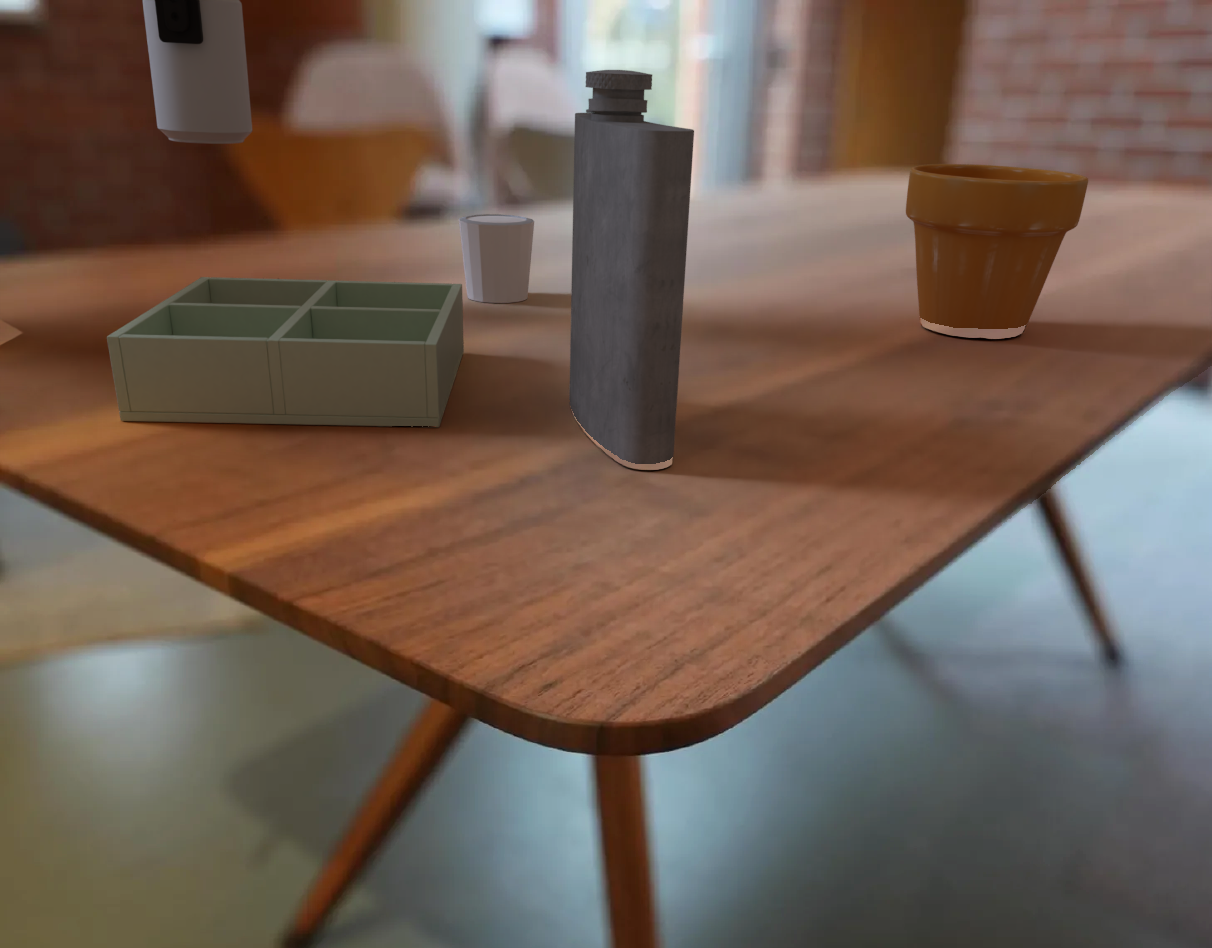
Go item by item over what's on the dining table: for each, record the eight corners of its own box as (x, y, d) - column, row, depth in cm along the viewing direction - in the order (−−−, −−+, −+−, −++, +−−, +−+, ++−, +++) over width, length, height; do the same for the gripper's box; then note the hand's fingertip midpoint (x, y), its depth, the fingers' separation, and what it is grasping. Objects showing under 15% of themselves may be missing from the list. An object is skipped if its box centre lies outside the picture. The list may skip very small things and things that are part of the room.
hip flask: (680, 469, 62) (706, 75, 54) (609, 473, 62) (625, 72, 53) (610, 392, 76) (622, 68, 67) (552, 394, 75) (556, 65, 66)
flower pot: (955, 353, 90) (985, 181, 84) (856, 316, 101) (877, 163, 96) (1091, 343, 95) (1128, 180, 89) (982, 309, 106) (1008, 163, 101)
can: (183, 144, 88) (164, -30, 83) (143, 137, 93) (123, -28, 88) (270, 144, 93) (257, -21, 87) (228, 137, 98) (213, -20, 92)
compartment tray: (120, 421, 67) (106, 336, 65) (209, 346, 84) (201, 276, 82) (439, 427, 68) (436, 344, 66) (463, 352, 85) (462, 283, 83)
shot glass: (520, 288, 108) (520, 212, 105) (544, 302, 103) (544, 222, 100) (451, 291, 106) (449, 214, 103) (472, 306, 100) (470, 224, 97)
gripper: (154, -204, 89) (181, 42, 97) (71, -259, 74) (111, 39, 82) (249, -198, 90) (268, 47, 98) (186, -251, 74) (215, 45, 82)
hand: (196, 42), depth 90 cm, fingers closed on can, 7 cm apart
